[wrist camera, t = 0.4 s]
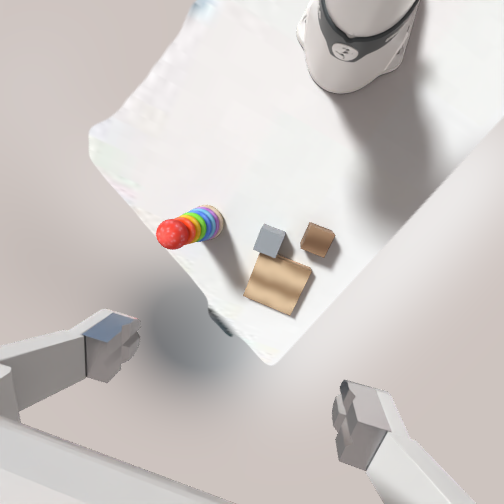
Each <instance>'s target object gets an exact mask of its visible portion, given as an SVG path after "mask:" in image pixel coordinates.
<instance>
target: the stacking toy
mask: <svg viewBox="0 0 504 504" xmlns="http://www.w3.org/2000/svg"><path fill="white" fill-rule="evenodd" d="M222 229H223V218H222V215H221V214H220V212H219V211H218V210H217V209H216V208H214V207H213V206H210V205H202V206H199V207H197V208H195V209H193V210H191V211H190V212H187V213H185V214H183V215H181V216H179V217H178V218H175V219H169V220H165V221H163V222H162V223H161V224H160V225H159V226H158V228H157V232H156V236H157V240H158V241H159V243H160V244H161V245H162V246H163V247H165V248H167V249H172V250H173V249H178V248H181V247H182V246H183V245H187V244H191V243H194V242H201V241H206V240H210V239H214V238H216V237H217V236H218V235H219V234H220V233H221V231H222Z"/></svg>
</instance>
